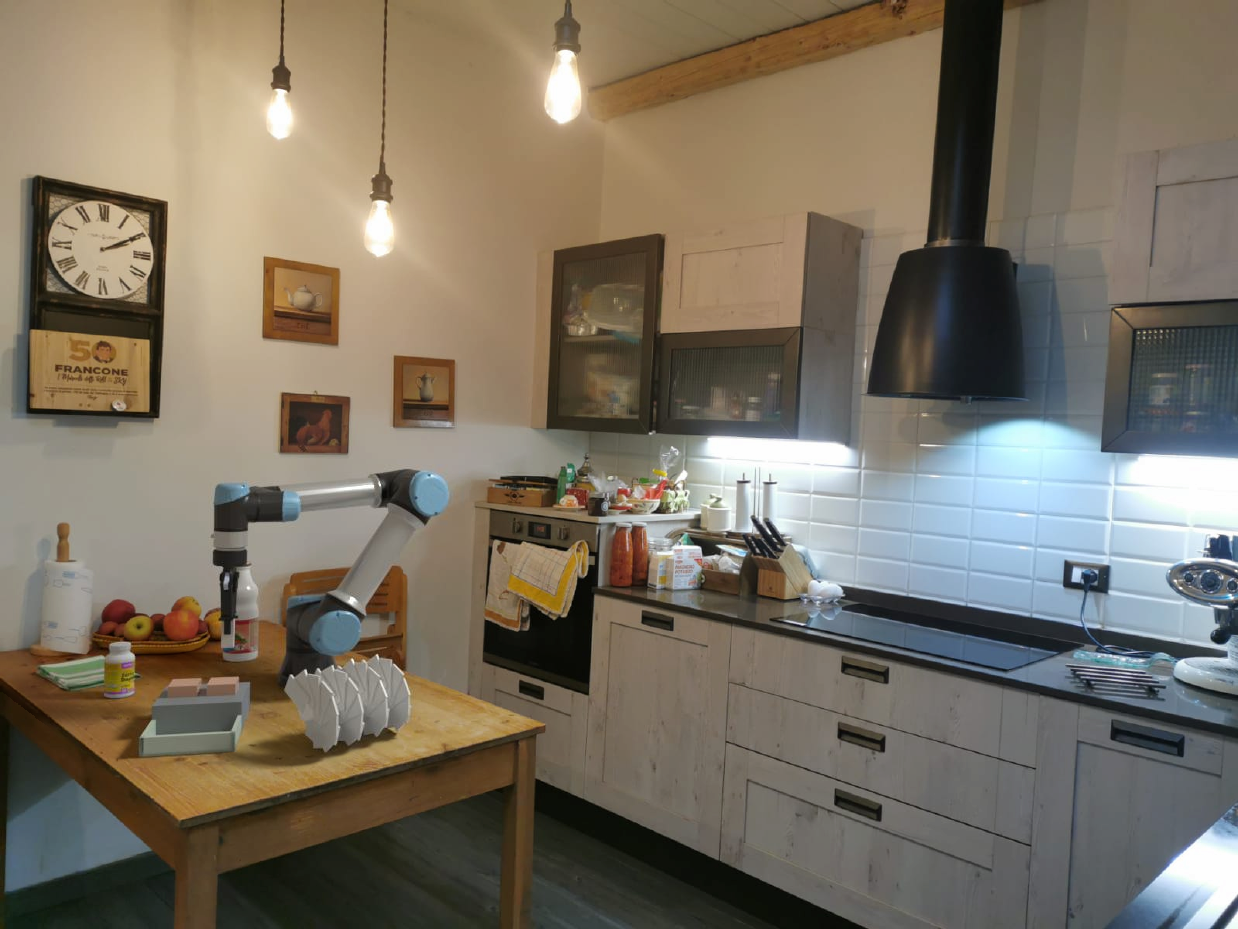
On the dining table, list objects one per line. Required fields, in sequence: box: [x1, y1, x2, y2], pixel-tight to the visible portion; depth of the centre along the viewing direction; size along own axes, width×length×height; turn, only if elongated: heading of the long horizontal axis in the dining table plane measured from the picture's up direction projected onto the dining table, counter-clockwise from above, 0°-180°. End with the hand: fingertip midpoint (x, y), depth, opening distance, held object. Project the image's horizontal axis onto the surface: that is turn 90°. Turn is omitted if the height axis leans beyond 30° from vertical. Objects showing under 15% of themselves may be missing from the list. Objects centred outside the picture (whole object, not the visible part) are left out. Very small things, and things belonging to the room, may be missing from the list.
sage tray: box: [138, 715, 242, 758], centre depth 192 cm, size 18×12×4 cm, turn 106°
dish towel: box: [35, 654, 142, 692], centre depth 239 cm, size 18×23×3 cm
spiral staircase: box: [283, 653, 413, 753], centre depth 198 cm, size 18×18×25 cm
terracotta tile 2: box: [167, 677, 203, 698], centre depth 204 cm, size 6×6×2 cm
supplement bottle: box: [103, 641, 136, 699], centre depth 223 cm, size 7×7×13 cm
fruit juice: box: [222, 560, 260, 663], centre depth 260 cm, size 9×9×28 cm
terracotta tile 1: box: [206, 676, 240, 696], centre depth 207 cm, size 6×6×2 cm
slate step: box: [151, 681, 251, 735], centre depth 205 cm, size 18×16×7 cm
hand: (227, 647), depth 215 cm, fingers closed
